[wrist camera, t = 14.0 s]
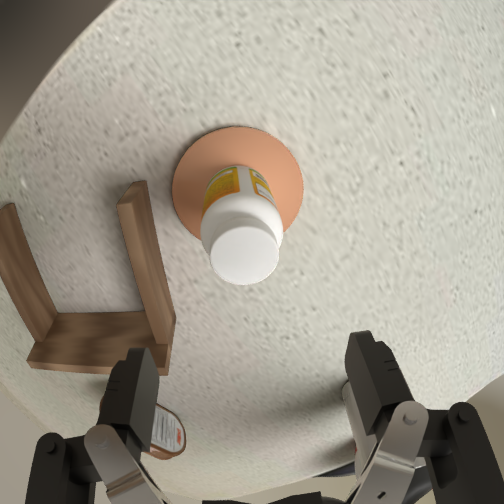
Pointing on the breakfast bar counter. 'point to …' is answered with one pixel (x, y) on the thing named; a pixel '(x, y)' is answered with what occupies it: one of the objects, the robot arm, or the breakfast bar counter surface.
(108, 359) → the cubby
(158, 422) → the tin
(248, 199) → the supplement bottle
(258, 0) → the breakfast bar counter surface
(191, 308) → the breakfast bar counter surface
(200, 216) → the coaster
